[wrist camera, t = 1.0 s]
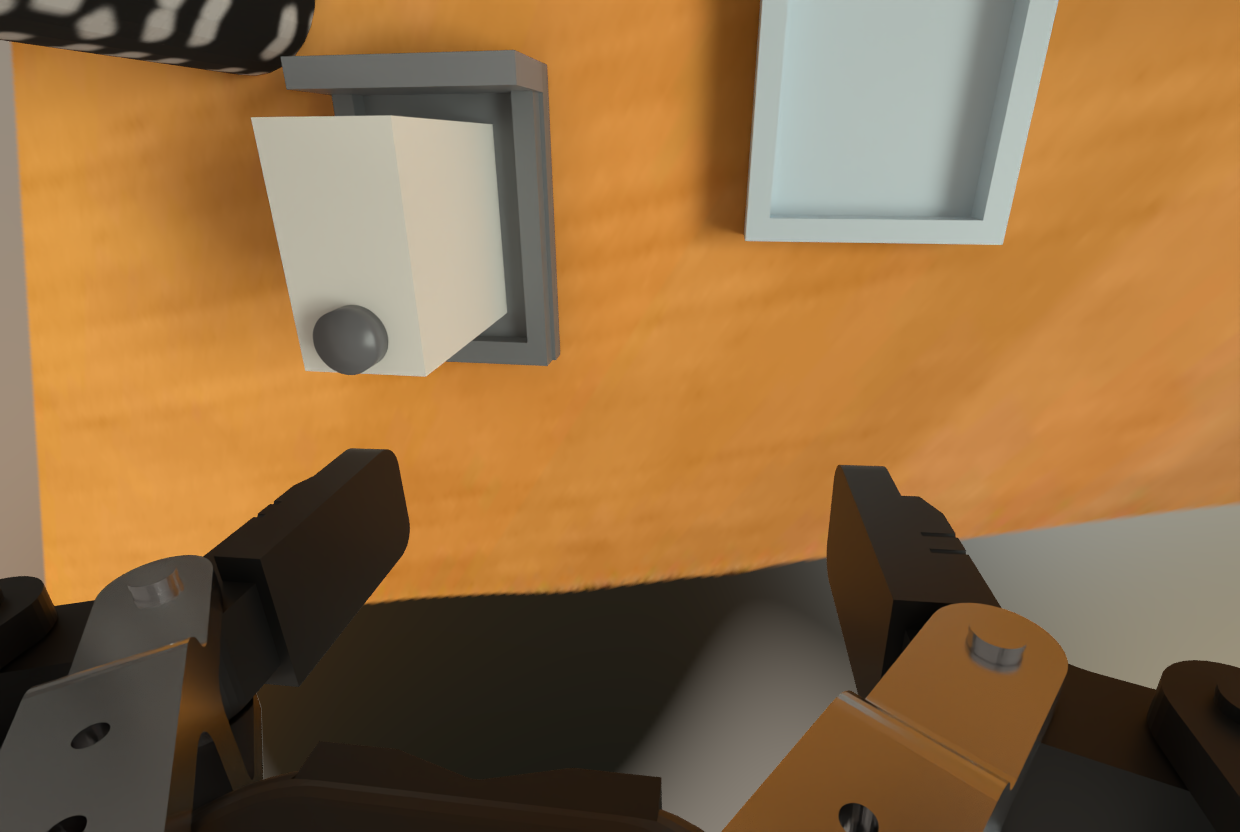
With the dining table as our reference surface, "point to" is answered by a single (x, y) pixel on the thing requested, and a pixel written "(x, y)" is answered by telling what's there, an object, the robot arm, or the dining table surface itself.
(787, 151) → the tray
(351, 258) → the white block with knob
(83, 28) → the white-spotted black cylinder
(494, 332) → the bay
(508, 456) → the dining table surface
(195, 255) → the dining table surface
